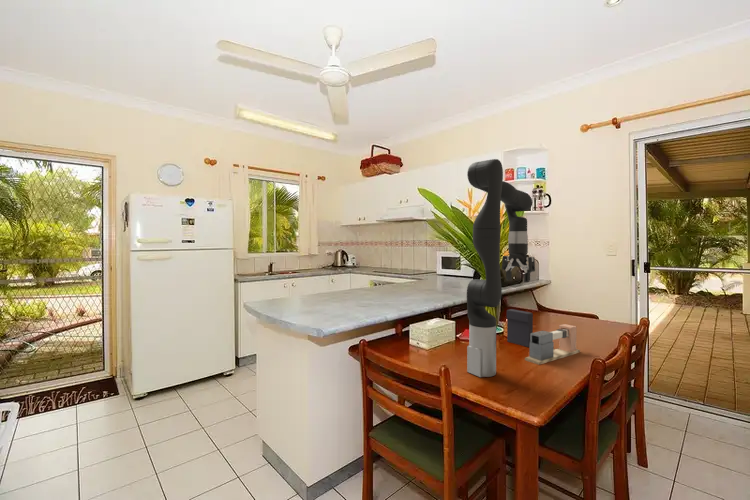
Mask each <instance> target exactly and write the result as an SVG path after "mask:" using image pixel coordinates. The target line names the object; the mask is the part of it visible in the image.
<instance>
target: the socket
mask: <svg viewBox="0 0 750 500" xmlns="http://www.w3.org/2000/svg"><path fill="white" fill-rule="evenodd" d="M565 328H566V329H569V336H567V337H566V338H559V339H558V348H559V349H561V350H565V351H569V352H573V351H576V349H577V326H576V325H572V324H567V323H564V324H559V326H558V329H565Z"/></svg>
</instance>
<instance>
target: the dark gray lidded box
mask: <svg viewBox="0 0 750 500" xmlns="http://www.w3.org/2000/svg"><path fill="white" fill-rule="evenodd" d="M533 317H534V314H533V312H530V311H524V310H519V309H513V308H511V309H507V310H506V320H507V323H506V324H507V326H506V327H507V331H506V332H507V334H506V335H507V337H506V338H507V343H512V344H515V345H519V346H523V347H527V348H529V345H530V333H534V331H533V330H534V329H533V328H534V323H533V321H534V319H533Z"/></svg>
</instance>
